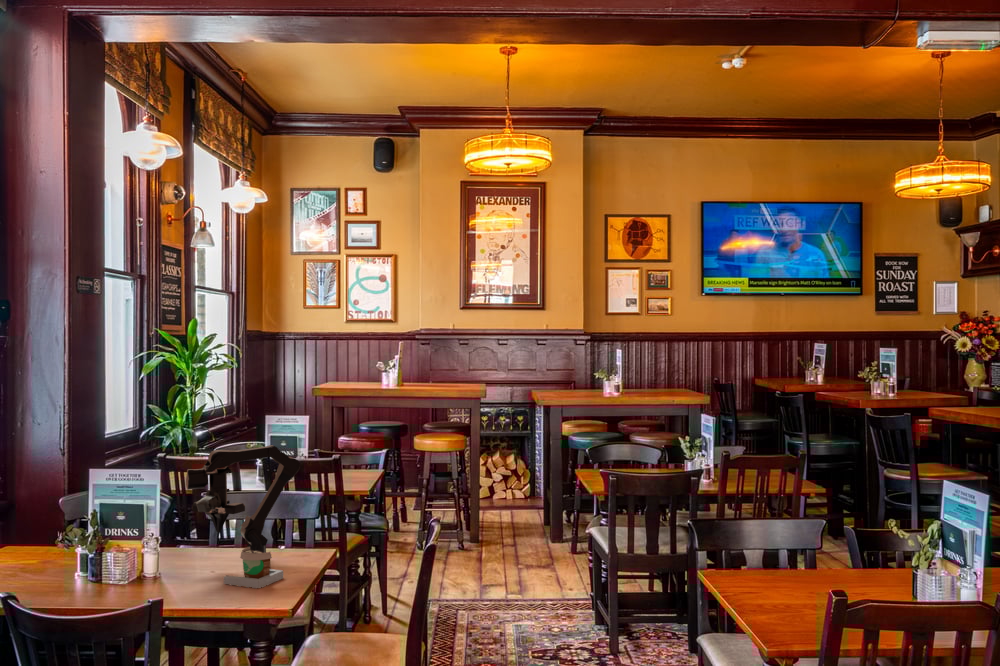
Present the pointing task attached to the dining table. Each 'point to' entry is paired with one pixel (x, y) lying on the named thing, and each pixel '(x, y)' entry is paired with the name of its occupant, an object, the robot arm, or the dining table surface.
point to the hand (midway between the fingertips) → (218, 532)
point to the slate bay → (253, 582)
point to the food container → (255, 563)
